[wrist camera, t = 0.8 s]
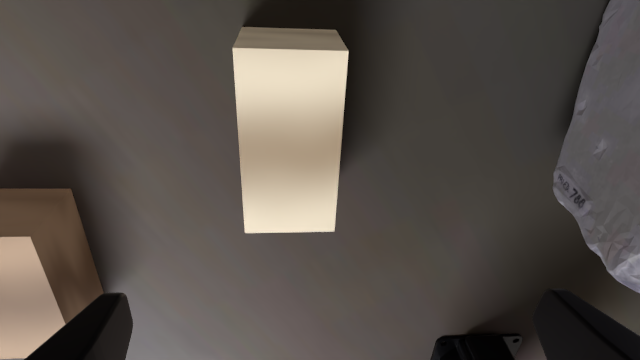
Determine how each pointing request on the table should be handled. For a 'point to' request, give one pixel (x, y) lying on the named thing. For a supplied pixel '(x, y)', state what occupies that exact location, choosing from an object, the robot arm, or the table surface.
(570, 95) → the table surface
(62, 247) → the brick
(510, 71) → the table surface
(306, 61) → the ash brick
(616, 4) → the stone block
